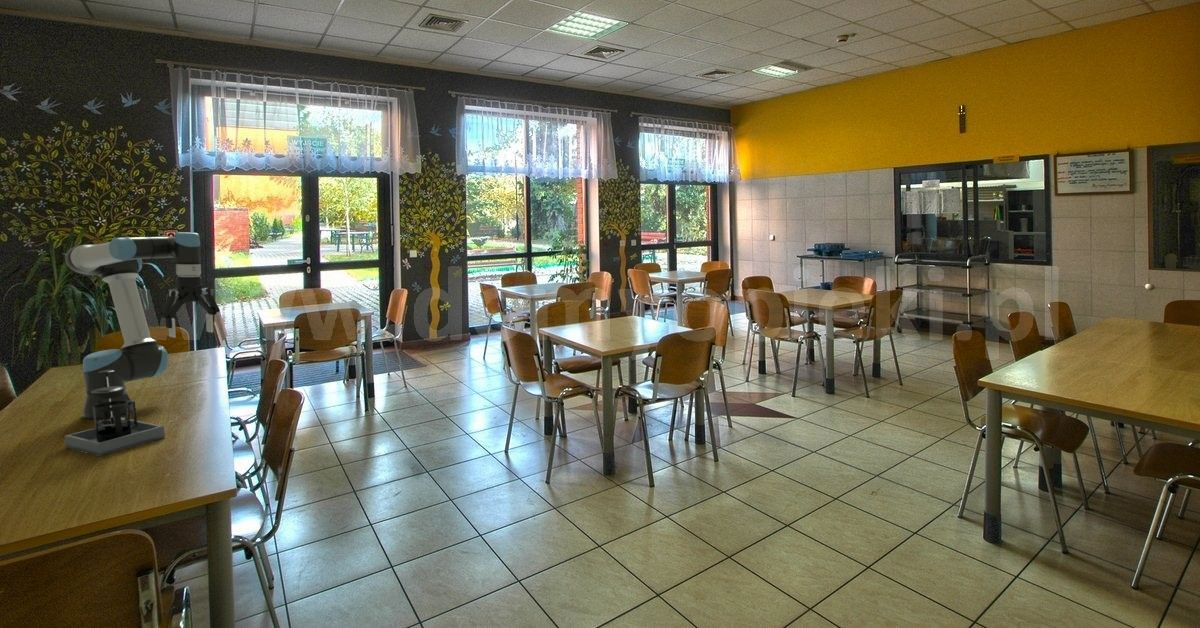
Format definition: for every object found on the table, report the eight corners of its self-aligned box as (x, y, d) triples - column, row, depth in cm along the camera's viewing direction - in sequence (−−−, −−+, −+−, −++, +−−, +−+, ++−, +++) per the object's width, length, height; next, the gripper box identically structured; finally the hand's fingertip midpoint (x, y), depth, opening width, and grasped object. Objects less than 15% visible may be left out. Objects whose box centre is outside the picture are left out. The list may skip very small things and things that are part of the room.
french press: (100, 447, 197) (91, 375, 194) (88, 442, 202) (79, 372, 199) (143, 437, 207) (136, 368, 204) (131, 432, 212) (123, 365, 209)
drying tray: (66, 447, 200) (64, 435, 200) (131, 430, 217) (130, 419, 217) (99, 456, 192) (98, 444, 192) (165, 437, 209) (163, 426, 209)
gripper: (158, 278, 213) (162, 340, 216) (229, 274, 236) (231, 330, 239) (145, 276, 216) (148, 338, 219) (215, 273, 239) (218, 328, 242)
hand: (191, 334), depth 229 cm, fingers open, 13 cm apart
